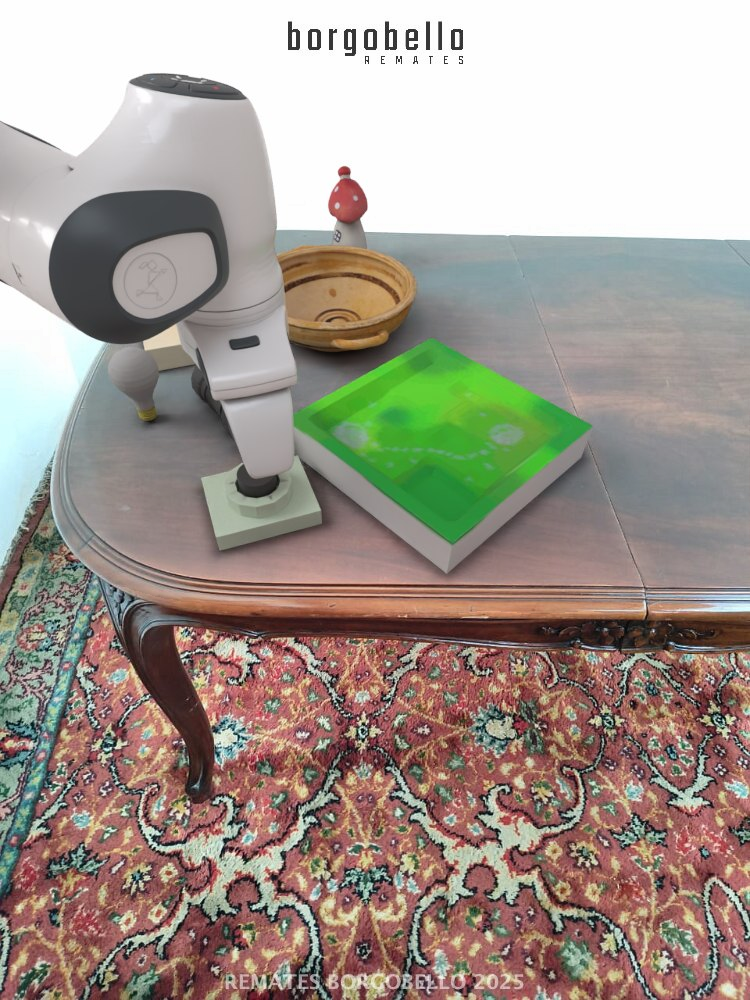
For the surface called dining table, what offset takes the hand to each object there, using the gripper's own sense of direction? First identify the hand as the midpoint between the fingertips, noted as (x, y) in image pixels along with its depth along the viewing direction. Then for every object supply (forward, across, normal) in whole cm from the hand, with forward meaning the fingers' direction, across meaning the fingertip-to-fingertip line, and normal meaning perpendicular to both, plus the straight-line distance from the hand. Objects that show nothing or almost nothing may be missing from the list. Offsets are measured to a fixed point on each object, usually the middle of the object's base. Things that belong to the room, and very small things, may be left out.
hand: (255, 445), depth 58 cm
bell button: (+6, -1, 0) cm, 6 cm away
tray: (+10, -2, +21) cm, 24 cm away
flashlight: (+10, -16, 0) cm, 18 cm away
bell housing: (+9, -1, 0) cm, 9 cm away
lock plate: (+9, -35, -3) cm, 36 cm away
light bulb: (+9, -20, -10) cm, 24 cm away
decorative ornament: (+10, -52, +26) cm, 60 cm away
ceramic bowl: (+10, -32, +18) cm, 38 cm away
